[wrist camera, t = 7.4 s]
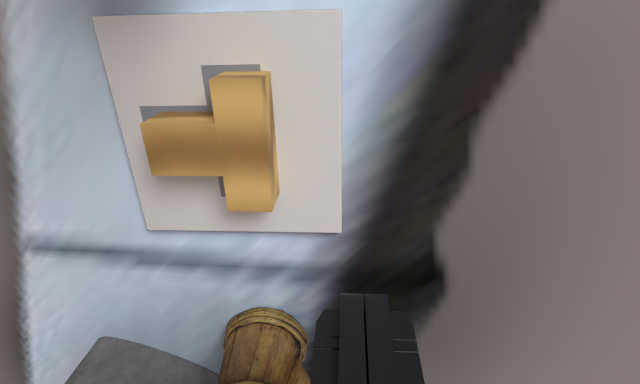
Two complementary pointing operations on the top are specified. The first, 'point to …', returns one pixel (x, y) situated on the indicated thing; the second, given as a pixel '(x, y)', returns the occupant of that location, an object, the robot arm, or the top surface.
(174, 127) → the t block
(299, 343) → the wooden mug
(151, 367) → the hip flask
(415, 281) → the top surface
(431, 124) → the top surface
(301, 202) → the t board
